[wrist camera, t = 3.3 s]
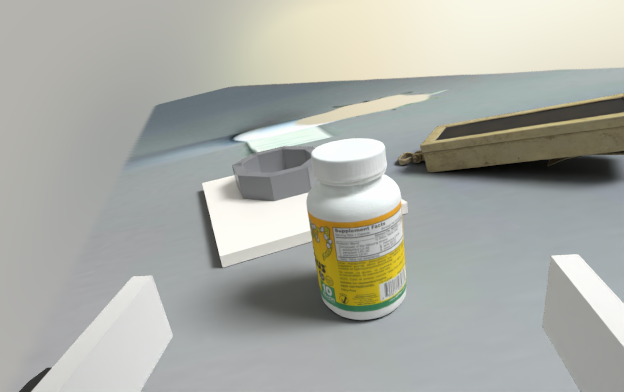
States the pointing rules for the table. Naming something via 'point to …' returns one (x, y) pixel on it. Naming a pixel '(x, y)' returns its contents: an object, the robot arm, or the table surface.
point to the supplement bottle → (357, 229)
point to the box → (527, 136)
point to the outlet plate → (263, 204)
